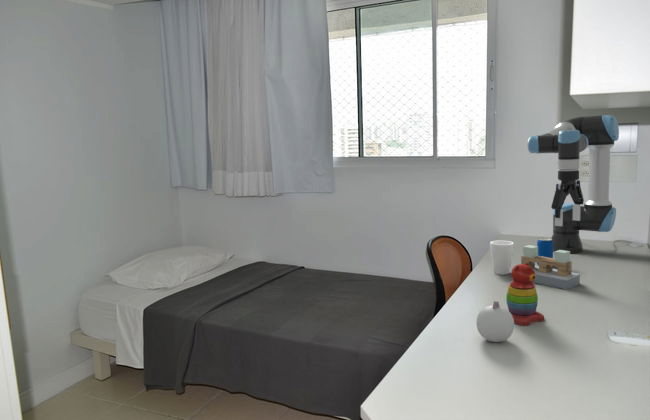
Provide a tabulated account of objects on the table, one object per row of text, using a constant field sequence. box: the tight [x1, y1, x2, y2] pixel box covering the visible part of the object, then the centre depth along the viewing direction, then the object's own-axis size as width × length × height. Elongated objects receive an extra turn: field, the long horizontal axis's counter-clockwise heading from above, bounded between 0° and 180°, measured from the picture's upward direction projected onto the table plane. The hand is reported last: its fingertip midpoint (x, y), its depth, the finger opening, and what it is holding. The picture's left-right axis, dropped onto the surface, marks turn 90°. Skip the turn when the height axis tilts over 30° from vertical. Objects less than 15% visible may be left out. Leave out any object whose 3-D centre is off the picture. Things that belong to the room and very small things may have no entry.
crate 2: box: [553, 250, 571, 263], centre depth 191 cm, size 4×4×4 cm
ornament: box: [475, 300, 515, 343], centre depth 143 cm, size 10×10×12 cm
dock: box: [532, 265, 581, 290], centre depth 197 cm, size 10×22×4 cm, turn 37°
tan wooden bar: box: [520, 255, 573, 277], centre depth 197 cm, size 5×18×5 cm, turn 37°
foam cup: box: [489, 239, 515, 276], centre depth 211 cm, size 10×9×13 cm
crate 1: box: [522, 244, 538, 258], centre depth 201 cm, size 4×4×4 cm
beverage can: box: [536, 237, 554, 266], centre depth 219 cm, size 6×6×12 cm
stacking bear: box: [505, 263, 546, 326], centre depth 158 cm, size 11×10×18 cm
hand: (567, 223), depth 198 cm, fingers open, 13 cm apart
